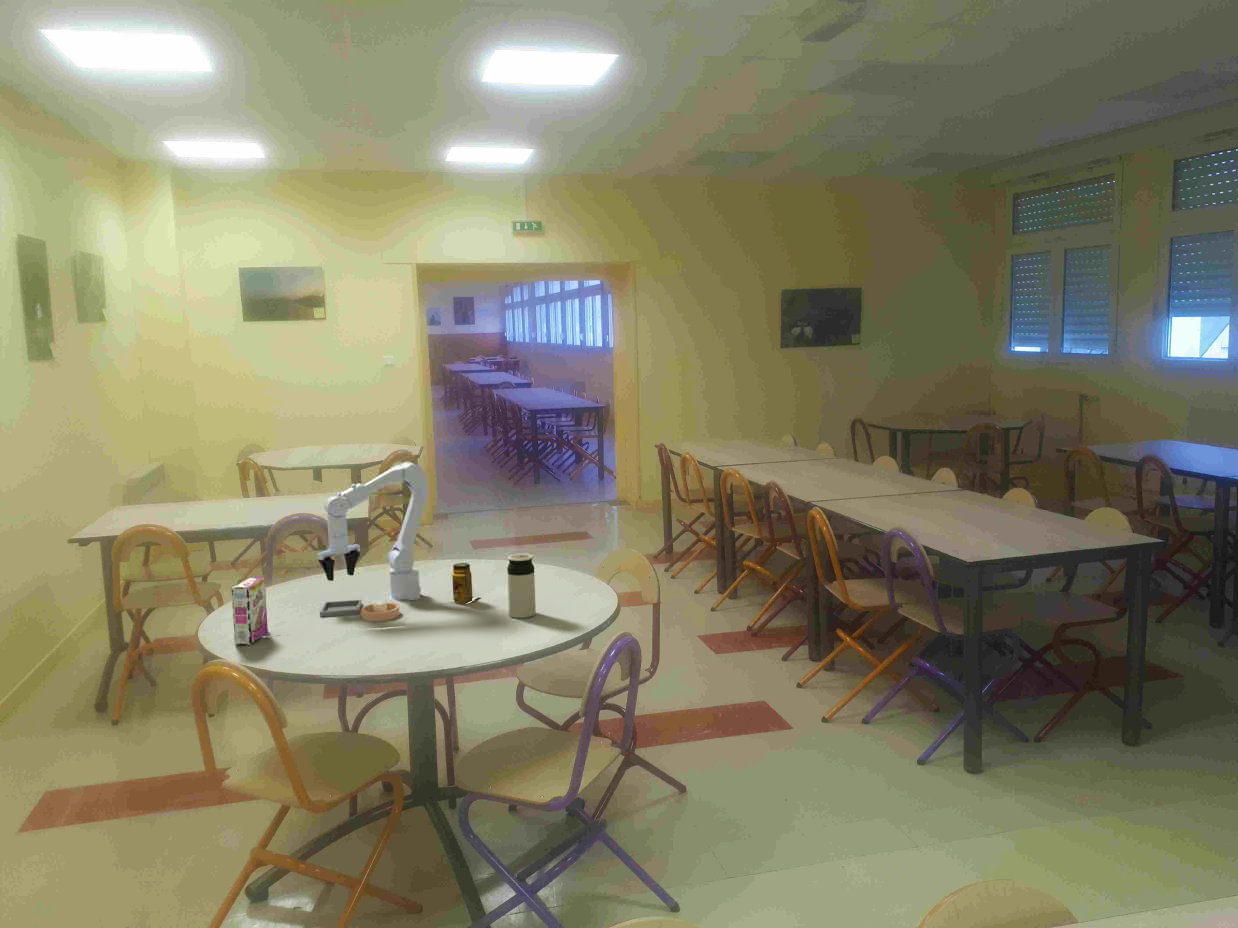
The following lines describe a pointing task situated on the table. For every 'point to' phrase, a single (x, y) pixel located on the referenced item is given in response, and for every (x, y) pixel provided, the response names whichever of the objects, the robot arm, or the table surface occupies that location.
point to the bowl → (380, 613)
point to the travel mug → (521, 586)
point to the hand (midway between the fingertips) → (340, 577)
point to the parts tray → (341, 608)
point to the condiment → (462, 583)
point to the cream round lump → (380, 606)
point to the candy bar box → (249, 611)
